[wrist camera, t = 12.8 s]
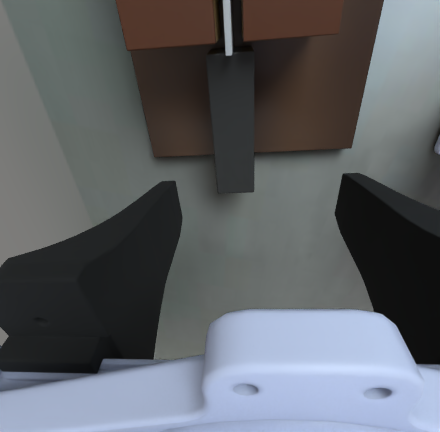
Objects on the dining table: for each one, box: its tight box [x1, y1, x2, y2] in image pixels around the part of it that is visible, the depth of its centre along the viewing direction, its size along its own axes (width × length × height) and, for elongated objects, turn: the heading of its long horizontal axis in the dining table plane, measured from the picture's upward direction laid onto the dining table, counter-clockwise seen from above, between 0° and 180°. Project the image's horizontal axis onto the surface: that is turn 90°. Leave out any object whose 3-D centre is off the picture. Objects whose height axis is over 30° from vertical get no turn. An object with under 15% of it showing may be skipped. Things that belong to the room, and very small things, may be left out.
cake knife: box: [206, 0, 254, 193], centre depth 13 cm, size 19×2×4 cm, turn 4°
